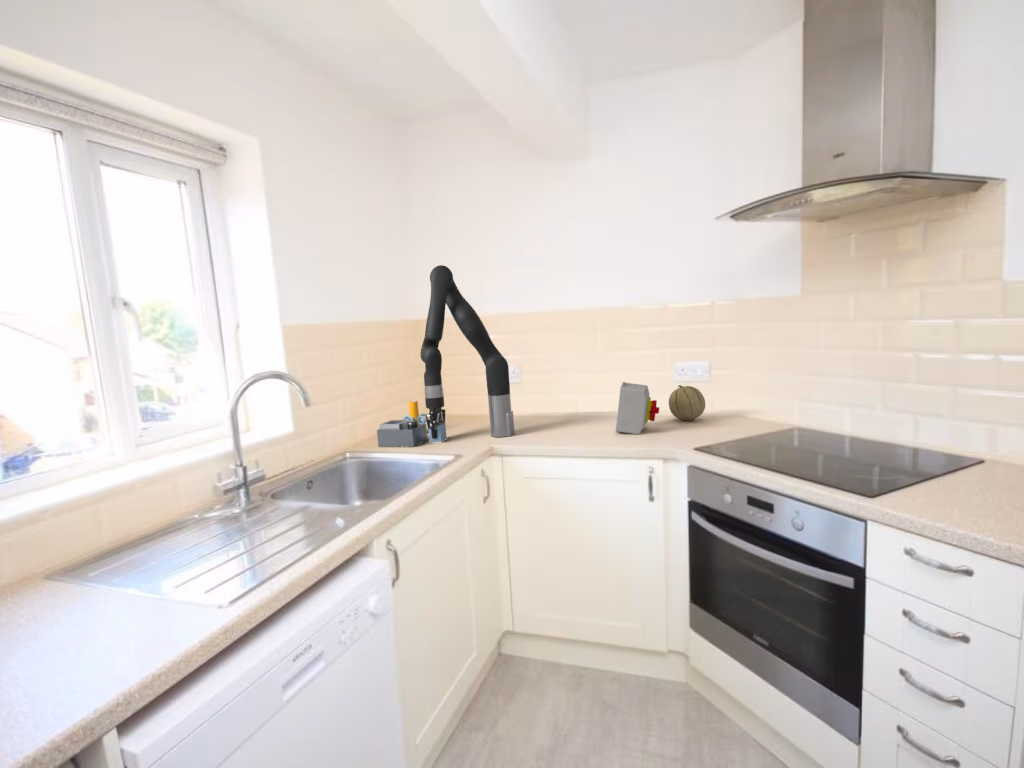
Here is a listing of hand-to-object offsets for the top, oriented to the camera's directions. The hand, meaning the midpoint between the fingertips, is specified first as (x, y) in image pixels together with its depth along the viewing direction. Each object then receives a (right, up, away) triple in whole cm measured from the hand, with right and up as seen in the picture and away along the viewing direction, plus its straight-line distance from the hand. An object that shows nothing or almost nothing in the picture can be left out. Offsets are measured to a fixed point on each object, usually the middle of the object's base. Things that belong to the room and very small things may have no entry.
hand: (437, 436), depth 211 cm
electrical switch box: (+81, +3, -6) cm, 81 cm away
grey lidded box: (0, -2, 0) cm, 2 cm away
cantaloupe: (+105, +6, +7) cm, 105 cm away
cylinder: (-12, -1, +18) cm, 21 cm away
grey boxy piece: (-14, -3, +1) cm, 15 cm away
